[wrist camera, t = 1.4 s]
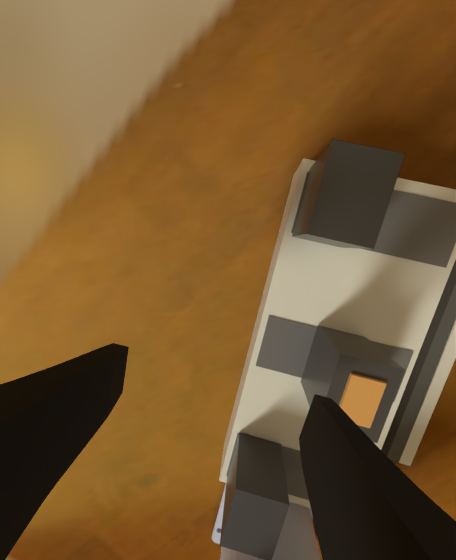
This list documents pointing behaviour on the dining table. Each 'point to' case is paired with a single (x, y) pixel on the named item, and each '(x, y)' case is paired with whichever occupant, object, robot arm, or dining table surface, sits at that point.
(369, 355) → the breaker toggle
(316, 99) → the dining table surface
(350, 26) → the dining table surface
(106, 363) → the robot arm
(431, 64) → the dining table surface
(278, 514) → the white panel with blocks
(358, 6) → the dining table surface
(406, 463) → the long grey stick
